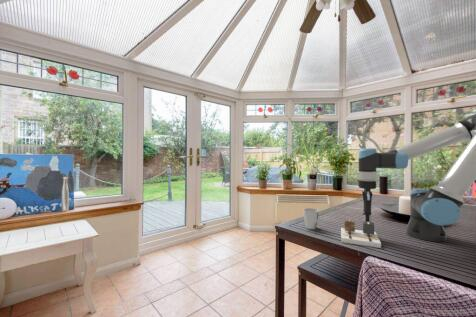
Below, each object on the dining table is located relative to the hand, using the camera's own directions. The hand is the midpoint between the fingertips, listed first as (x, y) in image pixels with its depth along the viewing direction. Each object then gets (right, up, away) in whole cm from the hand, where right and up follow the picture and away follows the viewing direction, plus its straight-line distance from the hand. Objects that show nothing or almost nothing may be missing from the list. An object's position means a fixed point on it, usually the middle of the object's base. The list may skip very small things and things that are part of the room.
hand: (367, 227), depth 106 cm
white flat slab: (-6, -5, -3) cm, 8 cm away
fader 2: (-1, -2, -3) cm, 4 cm away
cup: (-23, -5, +14) cm, 27 cm away
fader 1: (-8, -2, +1) cm, 8 cm away
